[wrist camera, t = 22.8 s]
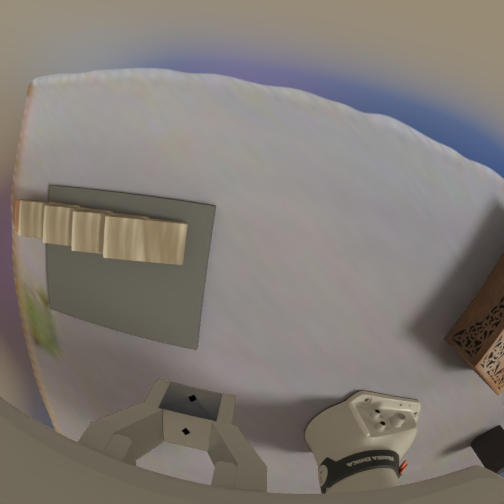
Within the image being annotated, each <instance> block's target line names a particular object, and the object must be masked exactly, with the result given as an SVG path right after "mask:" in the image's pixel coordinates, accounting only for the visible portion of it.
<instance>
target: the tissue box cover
mask: <svg viewBox="0 0 504 504" xmlns="http://www.w3.org/2000/svg"><path fill="white" fill-rule="evenodd" d="M444 339H445V340H446V341H447V342H448V343H449V344H450V345H451V346H452V347H453V348H454V349H455V350H456V351H457V353H458V354H459V355H460V356H461V357H462V358H463V359H464V360H465V361H466V363H467V364H468V365H469V366H470V367H471V368H472V369H473V370H474V371H475V372H476V373H477V374H478V375H479V376H480V377H481V378H482V379H483V380H484V381H485V383H486V384H487V385H488V386H489V387H490V388H491V389H492V390H493V391H494V392H495V393H496V394H497V395H499V394H500V393H501V392H502V390H503V389H504V253H503V254H502V256H501V258H500V260H499V261H498V263H497V265H496V266H495V268H494V270H493V271H492V273H491V274H490V276H489V278H488V279H487V281H486V282H485V284H484V285H483V287H482V288H481V290H480V291H479V293H478V294H477V296H476V297H475V299H474V300H473V301H472V303H471V304H470V306H469V307H468V308H467V310H466V311H465V312H464V314H463V315H462V316H461V318H460V319H459V320H458V322H457V323H456V324H455V326H454V327H453V328H452V329H451V331H450V332H449V333H448V334H447V335H446V337H445V338H444Z"/></svg>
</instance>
